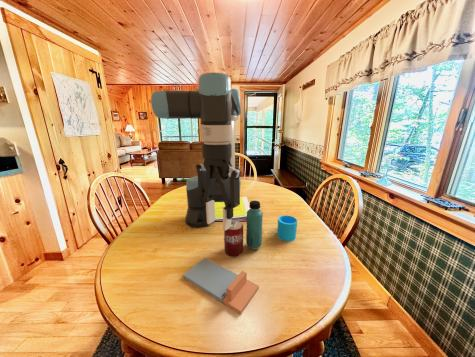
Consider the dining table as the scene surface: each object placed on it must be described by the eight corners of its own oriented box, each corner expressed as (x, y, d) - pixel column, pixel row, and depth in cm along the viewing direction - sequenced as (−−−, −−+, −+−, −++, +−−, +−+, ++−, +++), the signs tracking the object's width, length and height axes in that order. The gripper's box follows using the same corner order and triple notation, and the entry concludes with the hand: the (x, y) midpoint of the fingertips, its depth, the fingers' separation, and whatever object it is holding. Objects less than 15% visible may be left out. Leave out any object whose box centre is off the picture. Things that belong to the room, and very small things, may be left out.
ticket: (183, 277, 63) (183, 274, 63) (204, 260, 71) (204, 257, 71) (221, 302, 54) (221, 298, 54) (241, 279, 62) (241, 275, 62)
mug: (297, 241, 82) (299, 224, 80) (278, 241, 83) (279, 224, 80) (291, 226, 94) (292, 211, 92) (274, 226, 94) (275, 211, 92)
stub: (223, 303, 54) (222, 289, 53) (242, 280, 62) (242, 267, 61) (240, 314, 51) (240, 300, 50) (258, 288, 59) (259, 276, 58)
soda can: (224, 246, 79) (223, 220, 76) (242, 245, 80) (242, 219, 76) (224, 258, 72) (224, 230, 69) (244, 257, 73) (244, 229, 69)
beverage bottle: (263, 244, 81) (265, 199, 75) (259, 254, 75) (261, 206, 69) (248, 241, 83) (249, 197, 77) (243, 250, 77) (244, 204, 71)
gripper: (180, 141, 50) (186, 221, 57) (238, 146, 41) (238, 242, 47) (200, 139, 56) (204, 212, 63) (255, 143, 47) (253, 228, 53)
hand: (218, 224), depth 55 cm, fingers open, 5 cm apart
